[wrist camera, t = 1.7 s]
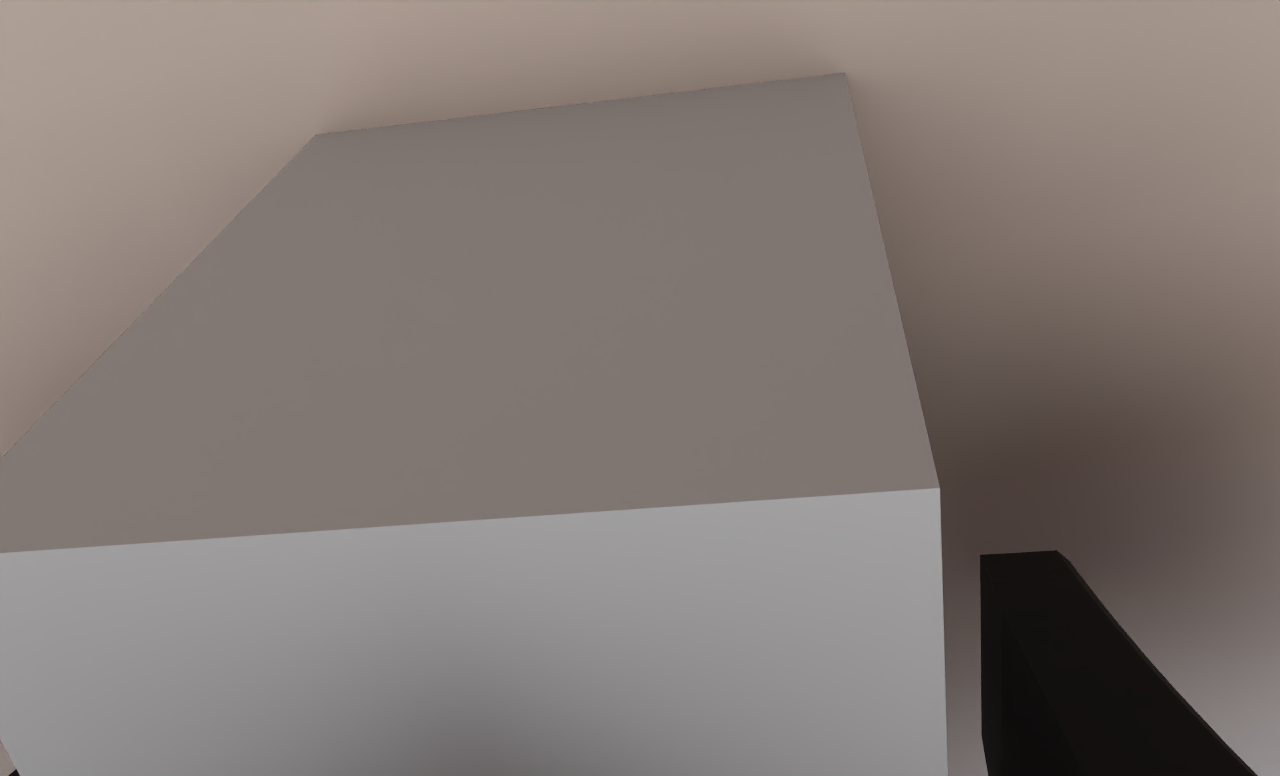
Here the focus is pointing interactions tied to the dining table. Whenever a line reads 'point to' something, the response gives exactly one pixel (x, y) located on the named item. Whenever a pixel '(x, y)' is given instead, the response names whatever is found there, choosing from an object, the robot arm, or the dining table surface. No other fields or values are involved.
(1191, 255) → the dining table surface
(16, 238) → the dining table surface
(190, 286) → the grey block
